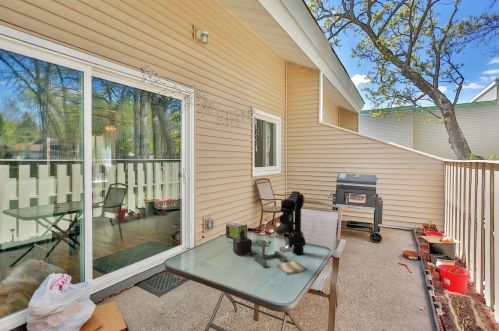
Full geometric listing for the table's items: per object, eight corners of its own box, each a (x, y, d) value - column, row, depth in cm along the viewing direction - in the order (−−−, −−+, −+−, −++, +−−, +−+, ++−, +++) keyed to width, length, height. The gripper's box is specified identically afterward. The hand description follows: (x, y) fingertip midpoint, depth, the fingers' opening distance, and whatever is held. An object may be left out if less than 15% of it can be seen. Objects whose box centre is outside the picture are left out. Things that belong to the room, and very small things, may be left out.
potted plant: (231, 251, 180) (231, 226, 180) (245, 248, 185) (245, 224, 185) (240, 258, 166) (240, 231, 166) (255, 255, 171) (255, 229, 171)
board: (295, 262, 159) (295, 260, 159) (307, 269, 148) (307, 267, 148) (275, 266, 153) (275, 264, 153) (286, 274, 142) (286, 272, 142)
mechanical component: (270, 256, 170) (270, 241, 169) (255, 255, 172) (255, 240, 172) (271, 254, 173) (271, 240, 172) (256, 253, 175) (256, 239, 174)
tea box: (247, 242, 199) (247, 223, 199) (238, 245, 192) (238, 226, 191) (234, 238, 209) (234, 220, 209) (225, 241, 202) (225, 223, 202)
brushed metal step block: (289, 249, 153) (289, 236, 153) (292, 251, 150) (292, 237, 150) (279, 251, 150) (279, 238, 150) (282, 253, 148) (282, 239, 148)
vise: (277, 256, 170) (277, 250, 170) (287, 262, 159) (287, 257, 159) (254, 260, 163) (254, 255, 163) (263, 267, 152) (263, 261, 152)
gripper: (269, 218, 156) (269, 243, 157) (285, 225, 139) (285, 253, 139) (285, 217, 161) (285, 241, 161) (302, 223, 144) (302, 250, 144)
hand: (289, 246), depth 151 cm, fingers closed on brushed metal step block, 3 cm apart
